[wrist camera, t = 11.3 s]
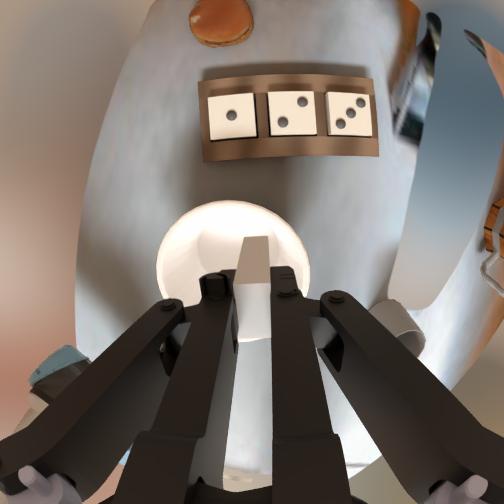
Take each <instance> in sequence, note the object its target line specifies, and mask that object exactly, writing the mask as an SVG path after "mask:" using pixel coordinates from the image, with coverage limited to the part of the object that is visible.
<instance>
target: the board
mask: <svg viewBox="0 0 504 504" xmlns="http://www.w3.org/2000/svg"><path fill="white" fill-rule="evenodd" d="M283 91H313V93H314V104H315V116H316V130H317V134H315V135H314V136H307V137H273V138H269V129H268V116H267V103H266V96H268V92H283ZM198 92H199V109H200V123H201V137H202V149H203V161H204V162H212V161H222V160H233V159H245V158H260V157H280V156H321V155H333V156H373V157H379V144H378V126H377V113H376V103H375V93H374V85H373V79H370V78H361V77H351V76H338V75H319V74H273V75H254V76H241V77H231V78H222V79H214V80H207V81H200V82H198ZM327 92H341V93H355V94H366V95H369V101H370V111H371V124H372V136H365V138H360V137H327V128H326V114H325V103H324V95H325V94H326V93H327ZM246 93H253V96H254V97H255V96H256V108H257V121H258V135H259V138H255V139H241V140H230V141H220V142H213V140H211V137H210V123H209V109H208V98H209V97H216V96H225V95H235V94H246Z"/></svg>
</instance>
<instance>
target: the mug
mask: <svg viewBox="0 0 504 504" xmlns="http://www.w3.org/2000/svg"><path fill="white" fill-rule="evenodd" d="M484 233H485V245H486V250H487V251H488V252H489V253H491V255H490V256H489V257H488V258H487V259H486V260H485V261H484V262H483V263H482V266H481V269H480V270H481V274H482V277H483V279H484V280H485V281H486V282H487V283H488V284H489V285H491V286H492V287H493V288H494V289H496V291H497V292H498V293H499V294H500V295H501V296H502V297H504V289H502V288H501V286H500V285H499V284H498V283H497V282H496V281H495V280H494V279H492V278H491V277H490V276H488V275H487V274H486V270H487V268H488V267H489V266H490V265H492V264H493V263H494V262H495V261H496V260H497V259H498V258H499V259H501V260H504V198H502V199H500V200H499V201H497V202H496V203H494V204H492V207H491V209H490V212H489V215H488V218H487V221H486V223H485V226H484Z"/></svg>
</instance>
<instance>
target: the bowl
mask: <svg viewBox="0 0 504 504" xmlns="http://www.w3.org/2000/svg"><path fill="white" fill-rule="evenodd" d="M252 236H268V242H269V261H270V267H273V266H290V267H291V268H293V269H294V273H295V277H296V281H297V285H298V289H300V290H301V292H302V294H303V296H304V297H305V298H306V296H307V293H308V288H309V283H310V264H309V260H308V256H307V252H306V250H305V248H304V246H303V243H302V241H301V239H300V237H299V236H298V235H297V234H296V232H295V231H294V230H293V229H292V227H291V226H290V225H289V224H288V223H287V222H285V221H284V220H283V219H282V218H281V217H279V216H278V215H277V214H275V213H273V212H272V211H270V210H268V209H266V208H264V207H262V206H259V205H256V204H252V203H249V202H246V201H235V200H223V201H215V202H210V203H207V204H204V205H201V206H198V207H195V208H194V209H192V210H190V211H189V212H187V213H185V214H184V215H182V216H181V217H180V218H179V219H178V220H177V221H176V222H175V223H174V224H173V225H172V226H171V227H170V229H169V230H168V232H167V233H166V234H165V236H164V238H163V240H162V243H161V245H160V248H159V250H158V256H157V262H156V268H157V280H158V284H159V288H160V291H161V294H162V296H163V298H164V299H168V298H176V299H179V300H181V301H182V302H183V305H184V307H187V306H192V305H196V304H199V302H200V300H201V297H202V296H201V290H200V284H199V278H200V277H201V276H203V275H205V274H208V273H213V272H220V271H221V270H226V269H237V265H238V260H239V256H240V252H241V247H242V243H243V239H244V237H252ZM257 339H261V338H246V339H239V333H238V342H248V341H252V340H257Z"/></svg>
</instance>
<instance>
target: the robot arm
mask: <svg viewBox="0 0 504 504" xmlns="http://www.w3.org/2000/svg"><path fill="white" fill-rule="evenodd" d="M199 284H200V290H201V296H202V297H201V300H200V302H199V304H196V305H192V306H187V307H184V305H183V302H182V301H181V300H179V299H176V298H168V299H164V300H162V301H159V302H157V303H156V304H155V305H154V306H152V307H151V308H150V309H149V310H148V311H147V312H146V313H145V314H144V315H143V316H141V317H140V318H139V319H138V320H137V321H136V322H135V323H134V324H133V325H132V326H131V327H130V328H128V329H127V330H126V331H125V332H124V333H123V334H122V335H121V336H120V337H119V338H118V339H117V340H116V341H114V342H113V343H112V344H111V345H110V346H109V347H108V348H107V349H106V350H105V351H104V352H103V353H102V354H101V355H100V356H99V357H97V358H96V359H95V360H94V361H93V362H91V361H90V360H89V358H88V357H86V356H84V355H83V354H82V353H81V352H80V351H79V350H77V349H76V348H75V347H73V346H72V345H64V346H62V347H60V348H59V349H58V350H56V351H55V352H54V353H52V354H51V355H50V356H49V357H48V358H47V359H46V360H45V361H44V362H43V363H42V364H40V366H39V367H38V368H37V369H36V370H35V371H34V372H33V373H32V374H31V376H30V377H29V383H30V386H31V387H33V388H32V389H31V390H30V392H29V393H28V397H29V403H30V408H29V409H28V411H27V412H26V414H25V415H24V417H23V418H22V420H21V421H20V423H19V424H18V426H17V427H16V429H15V430H14V432H13V433H12V435H11V436H9V437H7V438H5V439H3V440H1V441H0V504H82V502H84V501H85V500H87V499H88V498H90V496H92V495H93V494H94V493H95V492H96V491H97V490H98V489H99V488H100V487H101V486H102V484H103V483H104V482H105V481H106V480H107V478H108V477H109V475H110V474H111V473H112V471H113V470H114V469H115V467H116V466H117V464H118V463H120V464H122V465H125V466H124V469H123V472H122V475H121V478H120V480H119V483H118V486H117V489H116V492H115V494H114V495H112V496H111V497H109V498H107V499H106V500H104V501H102V502H100V503H99V504H367V503H366V502H364V501H363V500H361V499H359V498H357V497H355V496H353V495H351V493H350V488H349V482H348V476H347V470H346V465H345V459H344V454H343V449H342V444H341V441H340V437H339V436H338V434H334V432H333V430H332V425H331V420H330V415H329V410H328V405H327V400H326V395H325V390H324V385H323V381H322V376H321V371H320V367H319V362H318V358H317V353H316V349H315V348H317V351H318V354H319V355H320V357H321V359H322V360H323V362H324V363H325V365H326V366H327V368H328V370H329V371H330V373H331V374H332V376H333V377H334V379H335V381H336V382H337V384H338V385H339V387H340V389H341V390H342V392H343V393H344V395H345V396H346V398H347V400H348V401H349V403H350V404H351V406H352V407H353V409H354V411H355V412H356V414H357V415H358V417H359V419H360V420H361V422H362V423H363V425H364V426H365V428H366V430H367V431H368V433H369V434H370V436H371V438H372V439H373V441H374V442H375V444H376V445H377V447H378V449H379V450H380V452H381V453H382V455H383V457H384V458H385V460H386V461H387V463H388V464H389V466H390V468H391V469H392V471H393V472H394V474H395V476H396V477H397V479H398V480H399V482H400V483H401V485H402V486H403V488H404V489H405V490H406V492H407V493H408V494H409V495H410V496H411V497H412V498H413V499H414V500H415V501H416V502H417V503H418V504H504V438H503V437H501V436H499V435H498V434H496V433H494V432H492V431H490V430H488V429H486V428H485V427H483V426H482V425H481V424H480V423H479V422H478V421H477V420H476V418H475V417H474V416H473V415H472V414H471V413H470V412H469V411H468V410H467V409H466V408H465V407H464V406H463V405H462V404H461V402H460V401H458V399H457V398H456V397H455V396H454V395H453V394H452V393H451V392H450V391H449V390H448V389H447V388H446V387H445V386H444V385H443V384H442V383H441V382H440V381H439V380H438V379H437V378H436V377H435V376H434V375H433V374H432V373H431V372H430V371H429V370H428V369H427V368H426V367H425V366H424V365H423V364H422V363H421V362H420V361H419V360H418V359H417V358H416V357H415V356H414V355H413V354H412V353H411V352H410V351H409V350H408V349H407V348H406V347H405V346H404V345H403V344H402V343H401V342H400V341H399V340H398V339H397V338H396V337H395V336H394V335H393V334H392V333H391V332H390V331H389V330H388V329H387V328H386V327H385V326H383V325H382V324H381V323H380V322H379V321H378V320H377V319H376V318H375V317H374V316H373V315H372V314H371V313H370V312H369V311H368V310H367V309H365V308H364V307H363V306H362V305H361V304H360V303H359V302H358V301H357V300H356V299H355V298H354V297H353V296H351V295H350V294H348V293H347V292H343V291H340V290H334V291H328V292H325V293H324V294H322V295H321V298H320V300H313V299H308V298H305V297H304V296H303V294H302V292H301V290H300V289H298V285H297V281H296V277H295V273H294V269H293V268H291V267H290V266H273V267H270V261H269V242H268V236H252V237H244V239H243V243H242V247H241V252H240V256H239V260H238V265H237V269H226V270H221V271H220V272H213V273H208V274H205V275H203V276H201V277H200V278H199ZM238 333H239V339H246V338H271V351H272V411H273V440H272V486H267V487H263V488H258V489H253V490H248V491H242V492H230V491H226V490H223V480H222V479H223V469H224V460H225V452H226V444H227V436H228V428H229V420H230V411H231V403H232V395H233V387H234V379H235V371H236V363H237V355H238V347H239V344H238ZM161 344H163V348H162V349H161V350H159V349H160V346H161Z"/></svg>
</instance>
